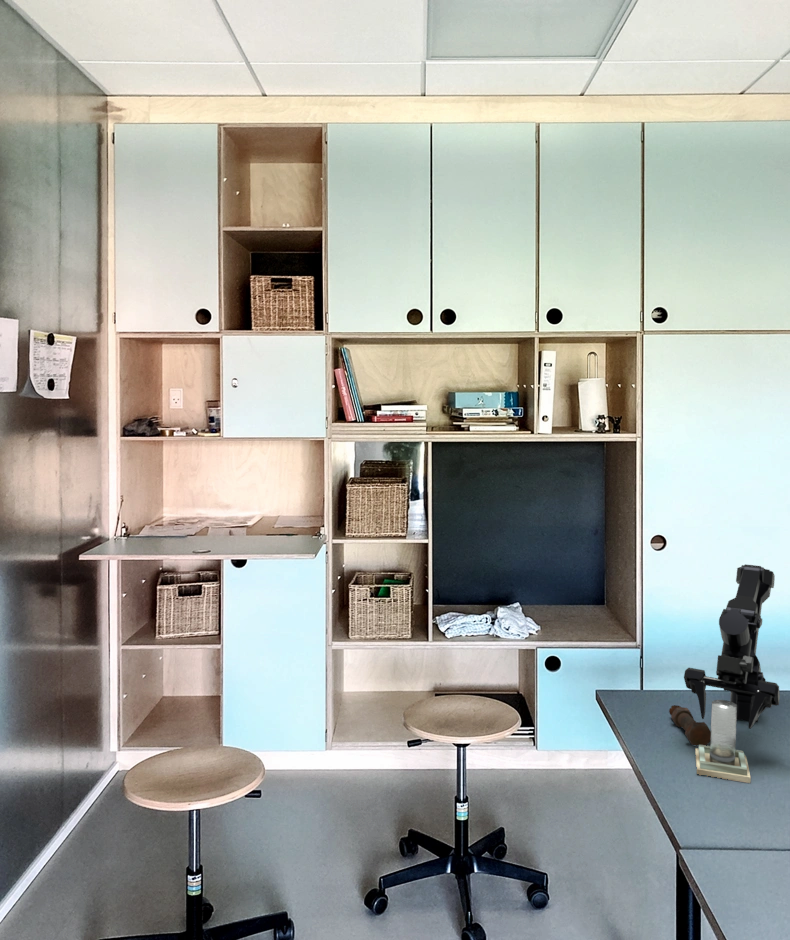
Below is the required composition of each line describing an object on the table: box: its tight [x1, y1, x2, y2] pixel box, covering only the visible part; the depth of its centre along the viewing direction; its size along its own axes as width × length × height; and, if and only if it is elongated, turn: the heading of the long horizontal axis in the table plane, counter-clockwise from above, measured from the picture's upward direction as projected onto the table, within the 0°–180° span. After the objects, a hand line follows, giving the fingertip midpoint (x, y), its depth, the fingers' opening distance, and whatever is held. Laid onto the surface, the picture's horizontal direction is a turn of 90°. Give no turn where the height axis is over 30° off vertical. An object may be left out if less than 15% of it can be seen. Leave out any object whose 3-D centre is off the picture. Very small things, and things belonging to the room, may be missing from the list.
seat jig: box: [694, 745, 752, 784], centre depth 157 cm, size 10×10×2 cm
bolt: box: [668, 704, 711, 746], centre depth 175 cm, size 6×5×15 cm
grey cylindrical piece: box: [709, 699, 738, 766], centre depth 157 cm, size 5×5×12 cm
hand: (725, 723), depth 159 cm, fingers open, 9 cm apart
